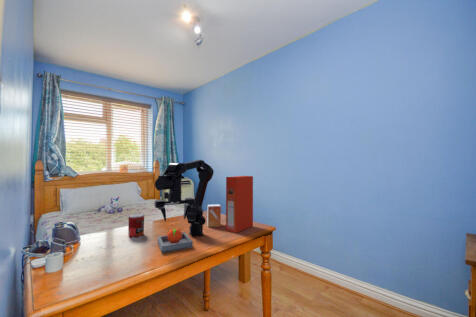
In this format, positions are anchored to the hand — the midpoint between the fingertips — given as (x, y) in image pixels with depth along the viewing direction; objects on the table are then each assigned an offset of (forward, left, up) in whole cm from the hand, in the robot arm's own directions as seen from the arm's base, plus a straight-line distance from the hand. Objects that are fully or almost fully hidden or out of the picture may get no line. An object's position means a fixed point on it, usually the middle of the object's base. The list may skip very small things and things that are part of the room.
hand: (174, 220), depth 104 cm
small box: (-29, -21, -12) cm, 38 cm away
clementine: (0, +1, -11) cm, 11 cm away
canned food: (+16, -23, -12) cm, 31 cm away
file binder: (-41, -8, -12) cm, 43 cm away
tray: (0, +1, -12) cm, 12 cm away
